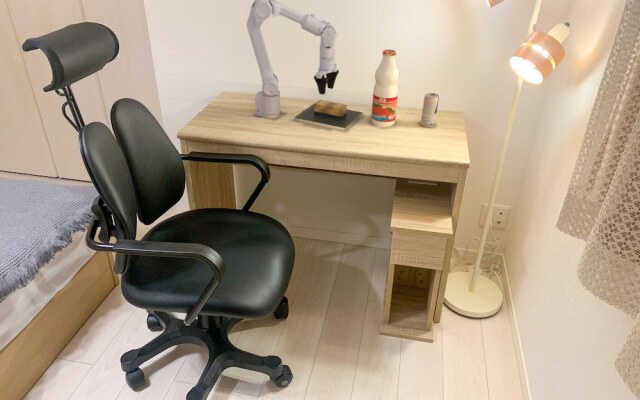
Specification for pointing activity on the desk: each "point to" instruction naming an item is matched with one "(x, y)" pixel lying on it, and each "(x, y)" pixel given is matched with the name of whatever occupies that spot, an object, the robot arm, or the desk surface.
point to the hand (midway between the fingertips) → (326, 91)
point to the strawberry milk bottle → (385, 90)
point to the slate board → (327, 120)
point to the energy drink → (429, 109)
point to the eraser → (330, 109)
